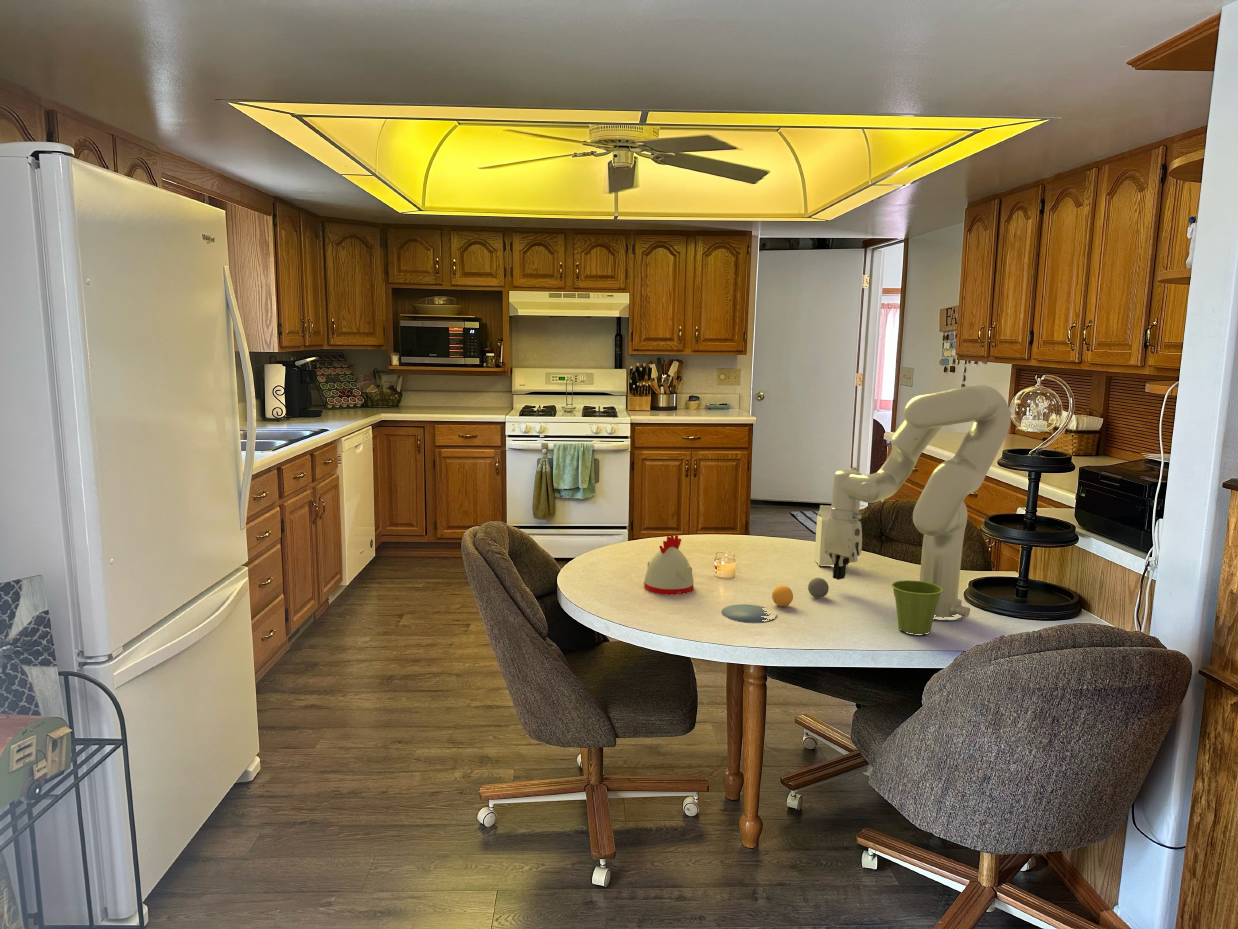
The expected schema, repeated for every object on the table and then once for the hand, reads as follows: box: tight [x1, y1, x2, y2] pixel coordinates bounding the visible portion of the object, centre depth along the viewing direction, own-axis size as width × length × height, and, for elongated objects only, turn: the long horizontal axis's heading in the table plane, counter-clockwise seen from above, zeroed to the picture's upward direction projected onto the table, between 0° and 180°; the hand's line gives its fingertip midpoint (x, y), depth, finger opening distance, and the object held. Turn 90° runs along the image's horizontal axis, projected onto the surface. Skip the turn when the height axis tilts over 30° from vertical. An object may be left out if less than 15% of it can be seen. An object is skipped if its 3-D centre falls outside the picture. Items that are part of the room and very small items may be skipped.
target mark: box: [721, 603, 770, 623], centre depth 213 cm, size 14×14×1 cm
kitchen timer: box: [643, 534, 694, 596], centre depth 233 cm, size 14×14×15 cm
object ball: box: [771, 584, 794, 607], centre depth 219 cm, size 6×6×6 cm
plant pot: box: [890, 580, 943, 635], centre depth 202 cm, size 12×12×11 cm
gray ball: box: [807, 577, 830, 599], centre depth 228 cm, size 6×6×6 cm
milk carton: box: [814, 504, 834, 565], centre depth 262 cm, size 7×7×19 cm
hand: (838, 578), depth 233 cm, fingers closed
